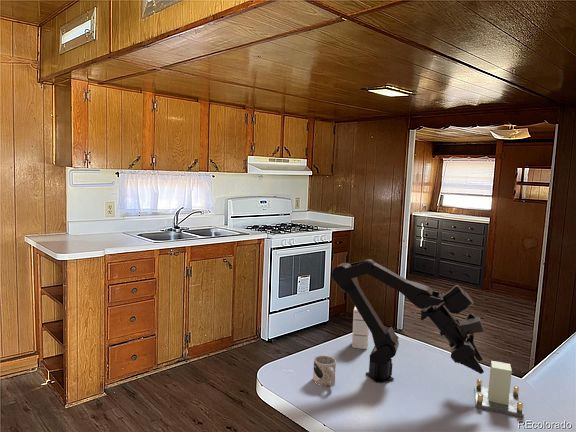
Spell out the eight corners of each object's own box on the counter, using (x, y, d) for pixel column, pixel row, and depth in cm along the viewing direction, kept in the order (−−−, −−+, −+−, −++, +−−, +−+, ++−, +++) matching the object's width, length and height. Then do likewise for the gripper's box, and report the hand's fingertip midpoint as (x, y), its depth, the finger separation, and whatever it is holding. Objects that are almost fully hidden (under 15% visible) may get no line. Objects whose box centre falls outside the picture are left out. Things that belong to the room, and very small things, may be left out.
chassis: (523, 417, 121) (524, 405, 120) (475, 407, 125) (476, 395, 125) (518, 397, 132) (519, 386, 132) (474, 388, 136) (475, 377, 136)
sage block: (488, 400, 127) (492, 367, 126) (488, 393, 132) (491, 360, 131) (508, 405, 125) (511, 370, 124) (506, 396, 130) (510, 363, 129)
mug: (309, 377, 139) (310, 356, 138) (329, 374, 141) (330, 354, 141) (322, 392, 130) (324, 370, 129) (343, 389, 132) (344, 368, 131)
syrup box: (367, 349, 162) (370, 310, 161) (351, 347, 164) (353, 309, 162) (368, 343, 168) (370, 306, 167) (352, 341, 169) (354, 304, 168)
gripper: (468, 316, 121) (508, 364, 118) (467, 299, 138) (503, 340, 135) (434, 339, 124) (473, 385, 122) (438, 319, 142) (472, 359, 139)
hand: (481, 366), depth 129 cm, fingers open, 9 cm apart
